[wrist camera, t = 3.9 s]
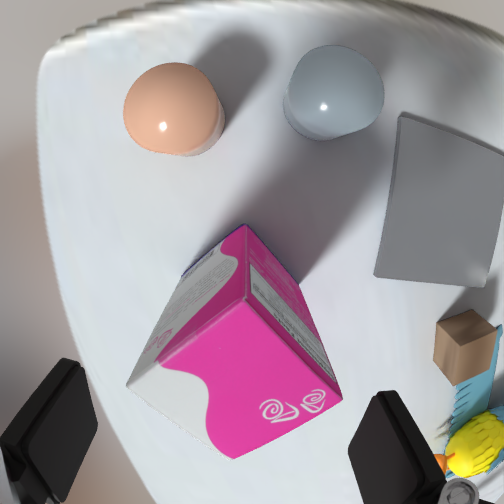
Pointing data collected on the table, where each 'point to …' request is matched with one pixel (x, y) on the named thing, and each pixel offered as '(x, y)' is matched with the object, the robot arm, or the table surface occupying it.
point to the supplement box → (236, 352)
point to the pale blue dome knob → (333, 93)
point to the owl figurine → (475, 427)
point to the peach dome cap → (174, 111)
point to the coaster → (441, 208)
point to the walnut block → (464, 346)
